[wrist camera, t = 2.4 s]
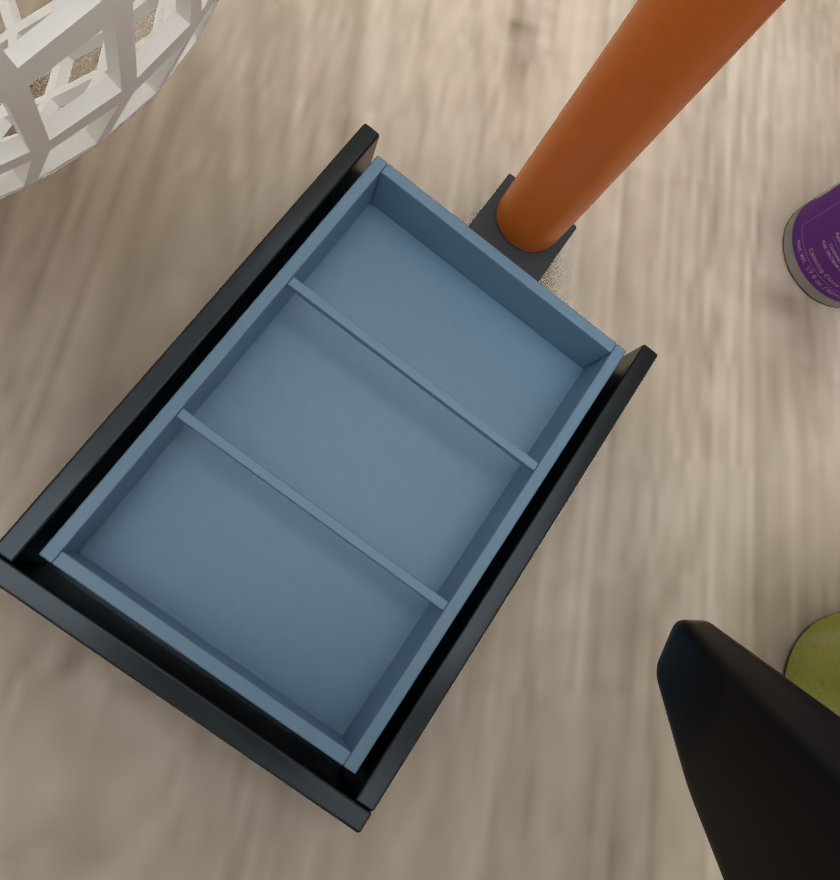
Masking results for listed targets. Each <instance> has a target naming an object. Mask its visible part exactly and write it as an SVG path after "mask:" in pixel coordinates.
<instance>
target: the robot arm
mask: <svg viewBox="0 0 840 880" xmlns="http://www.w3.org/2000/svg"><path fill="white" fill-rule="evenodd" d="M657 680H658V684H659V688H660V691H661V695H662V699H663V702H664V706H665V709H666V713H667V716H668V720H669V723H670V727H671V730H672V734H673V738H674V741H675V745H676V748H677V752H678V755H679V759H680V762H681V766H682V769H683V773H684V776H685V779H686V782H687V785H688V788H689V791H690V794H691V796H692V799H693V802H694V805H695V807H696V810H697V812H698V815H699V818H700V820H701V823H702V825H703V828H704V830H705V833H706V835H707V838H708V840H709V843H710V846H711V848H712V851H713V853H714V856H715V858H716V861H717V863H718V866H719V868H720V871H721V874H722V876H723V879H724V880H840V716H839V715H837V714H836V713H835V712H833V711H832V710H830V709H829V708H828V707H826V706H825V705H823V704H822V703H821V702H819V701H818V700H817V699H815V698H814V697H812V696H811V695H810V694H808V693H807V692H805V691H804V690H803V689H801V688H800V687H799V686H797V685H796V684H794V683H793V682H792V681H790V680H789V679H787V678H786V677H785V676H783V675H782V674H781V673H779V672H778V671H776V670H775V669H774V668H772V667H771V666H769V665H768V664H767V663H765V662H764V661H763V660H761V659H760V658H758V657H757V656H756V655H754V654H753V653H751V652H750V651H749V650H747V649H746V648H744V647H743V646H742V645H740V644H739V643H738V642H736V641H735V640H733V639H732V638H731V637H729V636H728V635H726V634H725V633H724V632H722V631H721V630H720V629H718V628H717V627H715V626H714V625H713V624H711V623H709V622H707V621H701V620H681V621H678V622H677V623H676V624H675V625H674V626H673V628H672V630H671V632H670V635H669V637H668V639H667V642H666V644H665V647H664V649H663V651H662V654H661V656H660V658H659V661H658V664H657Z"/></svg>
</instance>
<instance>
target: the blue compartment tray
mask: <svg viewBox="0 0 840 880" xmlns="http://www.w3.org/2000/svg"><path fill="white" fill-rule="evenodd" d="M784 2H785V0H638V1H637V2H636V4H635V5H634V7H633V8H632V10H631V11H630V12H629V14H628V15H627V17H626V18H625V20H624V21H623V23H622V24H621V26H620V27H619V28H618V30H617V31H616V33H615V34H614V36H613V37H612V39H611V40H610V41H609V43H608V44H607V46H606V47H605V49H604V50H603V52H602V53H601V55H600V56H599V57H598V59H597V60H596V62H595V63H594V65H593V66H592V68H591V69H590V71H589V72H588V73H587V75H586V76H585V78H584V79H583V81H582V82H581V84H580V85H579V86H578V88H577V89H576V91H575V92H574V94H573V95H572V97H571V98H570V100H569V101H568V102H567V104H566V105H565V107H564V108H563V110H562V111H561V113H560V114H559V116H558V117H557V118H556V120H555V121H554V123H553V124H552V126H551V127H550V129H549V130H548V131H547V133H546V134H545V136H544V137H543V139H542V140H541V142H540V143H539V145H538V146H537V147H536V149H535V150H534V152H533V153H532V155H531V156H530V158H529V159H528V160H527V162H526V163H525V165H524V166H523V168H522V169H521V171H520V172H519V174H518V175H517V176H516V178H515V177H514V176H513V175H511V174H509V175H508V176H507V177H506V179H505V180H504V181H503V183H502V184H501V185H500V186H499V188H498V189H497V190H496V192H495V193H494V194H493V196H492V197H491V198H490V199H489V201H488V202H487V203H486V205H485V206H484V207H483V209H482V210H481V211H480V212H479V214H478V215H477V216H476V218H475V219H474V220H473V222H472V223H471V224H470V225H469V227H468V226H467V225H465V224H464V223H463V222H462V221H460V220H459V219H458V218H456V217H455V216H454V215H453V214H451V213H450V212H449V211H448V210H446V209H445V208H444V207H443V206H441V205H440V204H439V203H437V202H436V201H435V200H434V199H432V198H431V197H430V196H429V195H427V194H426V193H425V192H423V191H422V190H421V189H420V188H418V187H417V186H416V185H415V184H413V183H412V182H411V181H410V180H408V179H407V178H406V177H404V176H403V175H402V174H401V173H399V172H398V171H397V170H396V169H394V168H393V167H392V166H390V165H389V164H388V165H387V162H385V161H384V160H383V159H382V158H380V157H379V156H377V157H376V158H375V159H374V161H373V162H372V163H371V164H370V165H369V166H368V168H367V169H366V170H365V171H364V172H363V173H362V175H361V176H360V177H359V178H358V179H357V181H356V182H355V183H354V184H353V185H352V186H351V188H350V189H349V190H348V191H347V192H346V193H345V195H344V196H343V197H342V198H341V199H340V201H339V202H338V203H337V204H336V205H335V206H334V208H333V209H332V210H331V211H330V212H329V213H328V215H327V216H326V217H325V218H324V219H323V220H322V222H321V223H320V224H319V225H318V226H317V228H316V229H315V230H314V231H313V232H312V233H311V235H310V236H309V237H308V238H307V239H306V240H305V242H304V243H303V244H302V245H301V246H300V248H299V249H298V250H297V251H296V252H295V253H294V255H293V256H292V257H291V258H290V259H289V260H288V262H287V263H286V264H285V265H284V266H283V267H282V269H281V270H280V271H279V272H278V273H277V275H276V276H275V277H274V278H273V279H272V280H271V282H270V283H269V284H268V285H267V286H266V287H265V289H264V290H263V291H262V292H261V293H260V295H259V296H258V297H257V298H256V299H255V300H254V302H253V303H252V304H251V305H250V306H249V307H248V309H247V310H246V311H245V312H244V313H243V314H242V316H241V317H240V318H239V319H238V320H237V322H236V323H235V324H234V325H233V326H232V327H231V329H230V330H229V331H228V332H227V333H226V334H225V336H224V337H223V338H222V339H221V340H220V342H219V343H218V344H217V345H216V346H215V347H214V349H213V350H212V351H211V352H210V353H209V354H208V356H207V357H206V358H205V359H204V360H203V361H202V363H201V364H200V365H199V366H198V367H197V369H196V370H195V371H194V372H193V373H192V374H191V376H190V377H189V378H188V379H187V380H186V381H185V383H184V384H183V385H182V386H181V387H180V389H179V390H178V391H177V392H176V393H175V394H174V396H173V397H172V398H171V399H170V400H169V401H168V403H167V404H166V405H165V406H164V407H163V408H162V410H161V411H160V412H159V413H158V414H157V416H156V417H155V418H154V419H153V420H152V421H151V423H150V424H149V425H148V426H147V427H146V428H145V430H144V431H143V432H142V433H141V434H140V436H139V437H138V438H137V439H136V440H135V441H134V443H133V444H132V445H131V446H130V447H129V448H128V450H127V451H126V452H125V453H124V454H123V455H122V457H121V458H120V459H119V460H118V461H117V463H116V464H115V465H114V466H113V467H112V468H111V470H110V471H109V472H108V473H107V474H106V475H105V477H104V478H103V479H102V480H101V481H100V483H99V484H98V485H97V486H96V487H95V488H94V490H93V491H92V492H91V493H90V494H89V495H88V497H87V498H86V499H85V500H84V501H83V502H82V504H81V505H80V506H79V507H78V508H77V510H76V511H75V512H74V513H73V514H72V515H71V517H70V518H69V519H68V520H67V521H66V522H65V524H64V525H63V526H62V527H61V528H60V530H59V531H58V532H57V533H56V534H55V535H54V537H53V538H52V539H51V540H50V541H49V542H48V544H47V545H46V546H45V547H44V548H43V550H42V551H41V552H40V554H39V555H40V556H41V557H43V558H44V559H46V560H47V561H49V562H50V563H53V565H54V566H56V567H57V568H59V569H60V570H62V571H63V572H65V573H66V574H67V575H69V576H70V577H72V578H73V579H75V580H76V581H77V582H79V583H80V584H82V585H83V586H85V587H86V588H88V589H89V590H90V591H92V592H93V593H95V594H96V595H98V596H99V597H100V598H102V599H103V600H105V601H106V602H108V603H109V604H111V605H112V606H113V607H115V608H116V609H118V610H119V611H121V612H122V613H124V614H125V615H126V616H128V617H129V618H131V619H132V620H134V621H135V622H136V623H138V624H139V625H141V626H142V627H144V628H145V629H147V630H148V631H149V632H151V633H152V634H154V635H155V636H157V637H158V638H160V639H161V640H162V641H164V642H165V643H167V644H168V645H170V646H171V647H172V648H174V649H175V650H177V651H178V652H180V653H181V654H183V655H184V656H185V657H187V658H188V659H190V660H191V661H193V662H194V663H195V664H197V665H198V666H200V667H201V668H203V669H204V670H206V671H207V672H208V673H210V674H211V675H213V676H214V677H216V678H217V679H219V680H220V681H221V682H223V683H224V684H226V685H227V686H229V687H230V688H231V689H233V690H234V691H236V692H237V693H239V694H240V695H242V696H243V697H244V698H246V699H247V700H249V701H250V702H252V703H253V704H254V705H256V706H257V707H259V708H260V709H262V710H263V711H265V712H266V713H267V714H269V715H270V716H272V717H273V718H275V719H276V720H278V721H279V722H280V723H282V724H283V725H285V726H286V727H288V728H289V729H290V730H292V731H293V732H295V733H296V734H298V735H299V736H301V737H302V738H303V739H305V740H306V741H308V742H309V743H311V744H312V745H314V746H315V747H316V748H318V749H319V750H321V751H322V752H324V753H325V754H326V755H328V756H329V757H331V758H332V759H334V760H335V761H337V762H338V763H339V764H341V765H343V766H344V767H345V768H347V769H348V770H349V771H351V772H352V773H356V772H357V770H358V769H359V767H360V766H361V764H362V762H363V761H364V759H365V758H366V756H367V755H368V753H369V752H370V750H371V748H372V747H373V745H374V744H375V742H376V741H377V739H378V738H379V736H380V734H381V733H382V731H383V730H384V728H385V727H386V725H387V724H388V722H389V720H390V719H391V717H392V716H393V714H394V713H395V711H396V709H397V708H398V706H399V705H400V703H401V702H402V700H403V699H404V697H405V695H406V694H407V692H408V691H409V689H410V688H411V686H412V685H413V683H414V681H415V680H416V678H417V677H418V675H419V674H420V672H421V671H422V669H423V667H424V666H425V664H426V663H427V661H428V660H429V658H430V656H431V655H432V653H433V652H434V650H435V649H436V647H437V646H438V644H439V642H440V641H441V639H442V638H443V636H444V635H445V633H446V632H447V630H448V628H449V627H450V625H451V624H452V622H453V621H454V619H455V618H456V616H457V614H458V613H459V611H460V610H461V608H462V607H463V605H464V603H465V602H466V600H467V599H468V597H469V596H470V594H471V593H472V591H473V589H474V588H475V586H476V585H477V583H478V582H479V580H480V579H481V577H482V575H483V574H484V572H485V571H486V569H487V568H488V566H489V565H490V563H491V561H492V560H493V558H494V557H495V555H496V554H497V552H498V550H499V549H500V547H501V546H502V544H503V543H504V541H505V540H506V538H507V536H508V535H509V533H510V532H511V530H512V529H513V527H514V526H515V524H516V522H517V521H518V519H519V518H520V516H521V515H522V513H523V512H524V510H525V508H526V507H527V505H528V504H529V502H530V501H531V499H532V497H533V496H534V494H535V493H536V491H537V490H538V488H539V487H540V485H541V483H542V482H543V480H544V479H545V477H546V476H547V474H548V473H549V471H550V469H551V468H552V466H553V465H554V463H555V462H556V460H557V458H558V457H559V455H560V454H561V452H562V451H563V449H564V448H565V446H566V444H567V443H568V441H569V440H570V438H571V437H572V435H573V434H574V432H575V430H576V429H577V427H578V426H579V424H580V423H581V421H582V420H583V418H584V416H585V415H586V413H587V412H588V410H589V409H590V407H591V405H592V404H593V402H594V401H595V399H596V398H597V396H598V395H599V393H600V391H601V390H602V388H603V387H604V385H605V384H606V382H607V381H608V379H609V377H610V376H611V374H612V373H613V371H614V370H615V368H616V367H617V365H618V363H619V362H620V360H621V359H622V357H623V356H624V354H625V352H626V351H625V350H624V349H623V348H621V347H620V346H619V345H616V343H615V342H614V341H613V340H611V339H610V338H609V337H607V336H606V335H605V334H604V333H602V332H601V331H600V330H599V329H597V328H596V327H595V326H594V325H592V324H591V323H590V322H588V321H587V320H586V319H585V318H583V317H582V316H581V315H580V314H578V313H577V312H576V311H574V310H573V309H572V308H571V307H569V306H568V305H567V304H566V303H564V302H563V301H562V300H561V299H559V298H558V297H557V296H555V295H554V294H553V293H552V292H550V291H549V290H548V289H547V288H545V287H544V286H543V285H541V284H540V283H539V282H538V281H539V280H540V278H541V277H542V276H543V274H544V273H545V271H546V270H547V269H548V267H549V266H550V264H551V263H552V262H553V260H554V259H555V257H556V256H557V255H558V253H559V252H560V250H561V249H562V247H563V246H564V245H565V243H566V242H567V240H568V239H569V238H570V236H571V235H572V233H573V232H574V231H575V229H576V226H575V225H574V223H575V222H576V221H577V220H578V219H579V217H580V216H581V215H582V214H583V213H584V212H585V211H586V210H587V209H588V208H589V207H590V206H591V205H592V204H593V203H594V202H595V201H596V200H597V199H598V197H599V196H600V195H601V194H602V193H603V192H604V191H605V190H606V189H607V188H608V187H609V186H610V185H611V184H612V183H613V182H614V181H615V180H616V179H617V177H618V176H619V175H620V174H621V173H622V172H623V171H624V170H625V169H626V168H627V167H628V166H629V165H630V164H631V163H632V162H633V161H634V160H635V158H636V157H637V156H638V155H639V154H640V153H641V152H642V151H643V150H644V149H645V148H646V147H647V146H648V145H649V144H650V143H651V142H652V141H653V140H654V138H655V137H656V136H657V135H658V134H659V133H660V132H661V131H662V130H663V129H664V128H665V127H666V126H667V125H668V124H669V123H670V122H671V121H672V120H673V118H674V117H675V116H676V115H677V114H678V113H679V112H680V111H681V110H682V109H683V108H684V107H685V106H686V105H687V104H688V103H689V102H690V101H691V100H692V98H693V97H694V96H695V95H696V94H697V93H698V92H699V91H700V90H701V89H702V88H703V87H704V86H705V85H706V84H707V83H708V82H709V81H710V79H711V78H712V77H713V76H714V75H715V74H716V73H717V72H718V71H719V70H720V69H721V68H722V67H723V66H724V65H725V64H726V63H727V62H728V61H729V59H730V58H731V57H732V56H733V55H734V54H735V53H736V52H737V51H738V50H739V49H740V48H741V47H742V46H743V45H744V44H745V43H746V42H747V41H748V39H749V38H750V37H751V36H752V35H753V34H754V33H755V32H756V31H757V30H758V29H759V28H760V27H761V26H762V25H763V24H764V23H765V22H766V21H767V19H768V18H769V17H770V16H771V15H772V14H773V13H774V12H775V11H776V10H777V9H778V8H779V7H780V6H781V5H782V4H783V3H784Z"/></svg>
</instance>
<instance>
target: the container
mask: <svg viewBox="0 0 840 880" xmlns="http://www.w3.org/2000/svg"><path fill="white" fill-rule="evenodd" d="M784 254H785V258H786V262H787V265H788V267H789V270H790V272H791V274H792V275H793V277H794V279H795V280H796V282H797V283H798V284H799V286H800V287H801V288H802V289H803V290H804V291H805V292H806V293H807V294H808V295H810V296H811V297H812V298H814V299H815V300H817V301H819V302H821V303H823V304H826V305H829V306H833V307H840V182H839V183H837V184H836V185H834V186H833V187H831V188H830V189H828V190H827V191H825V192H824V193H822V194H821V195H819V196H818V197H816V198H815V199H813V200H811V201H810V202H808V203H807V204H806V205H804V206H803V207H801V208H800V209H799V210H797V211H796V212H795V213H794V214H793V215H792V217H791V218H790V220H789V222H788V224H787V226H786V229H785V233H784Z"/></svg>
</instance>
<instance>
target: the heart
mask: <svg viewBox="0 0 840 880" xmlns="http://www.w3.org/2000/svg"><path fill="white" fill-rule="evenodd" d="M217 2H218V0H53V1H52V2H50V3H49V4H47V5H45V6H44V7H42V8H40V9H39V10H37V11H36V12H34V13H32V14H31V15H29V16H27V17H26V18H24V19H23V20H22V19H21V16H20V13H19V10H18V7H17V4H16V1H15V0H0V12H1V15H2V18H3V21H4V24H5V27H6V31H4V32H3V33H1V34H0V103H1V107H0V200H1V199H3V198H5V197H7V196H9V195H11V194H13V193H15V192H18V191H20V190H22V189H24V188H26V187H28V186H30V185H32V184H33V183H35V182H37V181H38V180H40V179H42V178H44V177H46V176H48V175H50V174H52V173H53V172H55V171H57V170H58V169H60V168H62V167H63V166H65V165H66V164H68V163H70V162H71V161H73V160H75V159H76V158H78V157H79V156H81V155H83V154H84V153H86V152H88V151H89V150H91V149H92V148H93V147H95V146H96V145H98V144H99V143H100V142H102V141H103V140H104V139H105V138H106V137H108V136H109V135H110V134H111V133H112V132H113V131H115V130H116V129H117V128H118V127H119V126H120V125H122V124H123V123H124V122H125V121H126V120H127V119H129V118H130V117H131V116H132V115H133V114H135V113H136V112H137V111H138V110H139V109H140V108H142V107H143V106H144V105H145V104H146V103H147V102H148V101H149V100H150V99H151V98H152V97H153V96H154V95H155V94H156V93H157V92H158V90H159V89H160V88H161V87H162V86H163V85H164V84H165V82H166V81H167V80H168V78H169V77H170V76H171V74H172V73H173V72H174V70H175V69H176V68H177V66H178V65H179V63H180V62H181V61H182V59H183V58H184V57H185V55H186V54H187V53H188V51H189V50H190V49H191V47H192V46H193V44H194V43H195V42H196V40H197V39H198V37H199V36H200V34H201V32H202V30H203V29H204V27H205V25H206V23H207V21H208V19H209V17H210V16H211V14H212V12H213V10H214V8H215V6H216V4H217ZM155 9H157V11H156V16H155V20H154V25H153V29H152V32H151V33H150V34H148V35H147V36H145V37H144V38H142V39H141V40H139V41H138V42H137V43H135V31H134V25H135V24H137V23H138V22H139V21H141V20H142V19H143V18H145V17H146V16H147V15H149V14H150V13H151V12H153V11H154V10H155ZM100 46H102V49H101V53H100V57H99V61H98V65H97V69H96V70H94V71H92V72H90V73H88V74H86V75H84V76H82V77H80V78H78V79H76V80H74V81H72V82H70V83H68V81H69V77H70V74H71V70H72V67H73V63H74V61H75V60H77V59H78V58H80V57H82V56H84V55H86V54H87V53H89V52H91V51H93V50H95V49H96V48H98V47H100ZM49 73H51V74H50V77H49V81H48V84H47V87H46V91H45V94H44V95H43V96H40V97H38V98H35V99H34V98H33V95H32V92H31V90H30V87H29V86H30V85H31V84H32V83H34V82H35V81H36V80H38V79H39V78H40V77H42V76H44V75H47V74H49ZM67 103H68V104H67ZM65 104H67V105H65ZM63 105H65V106H64V107H62V108H61V109H59V107H61V106H63ZM58 109H59V110H58ZM57 110H58V111H57ZM12 125H14V127H15V129H16V131H17V134H14V135H11V136H7V137H4V138H3V136H4V135H5V134H6V133H7V131H8V130H9V129H10V127H11V126H12Z"/></svg>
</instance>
